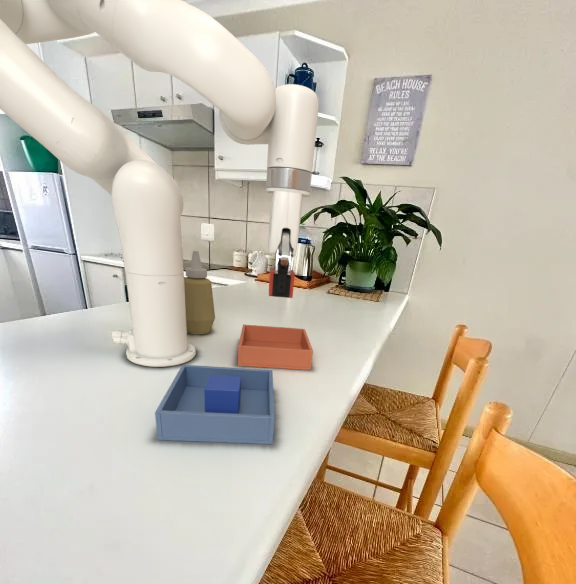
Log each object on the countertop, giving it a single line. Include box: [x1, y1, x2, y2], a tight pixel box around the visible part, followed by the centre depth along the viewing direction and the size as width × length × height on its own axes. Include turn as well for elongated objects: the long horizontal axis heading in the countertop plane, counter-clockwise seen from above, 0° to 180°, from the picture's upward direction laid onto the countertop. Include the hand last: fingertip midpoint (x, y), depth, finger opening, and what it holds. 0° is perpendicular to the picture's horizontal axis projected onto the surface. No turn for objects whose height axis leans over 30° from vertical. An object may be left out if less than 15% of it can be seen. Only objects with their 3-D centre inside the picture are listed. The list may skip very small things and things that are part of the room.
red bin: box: [237, 324, 314, 371], centre depth 68 cm, size 14×14×4 cm
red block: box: [268, 267, 296, 299], centre depth 62 cm, size 4×4×4 cm
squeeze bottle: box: [184, 250, 216, 335], centre depth 74 cm, size 8×8×18 cm
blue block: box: [204, 375, 241, 414], centre depth 45 cm, size 4×4×4 cm
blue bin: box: [154, 364, 276, 445], centre depth 46 cm, size 14×14×4 cm
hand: (280, 292), depth 62 cm, fingers closed on red block, 4 cm apart
